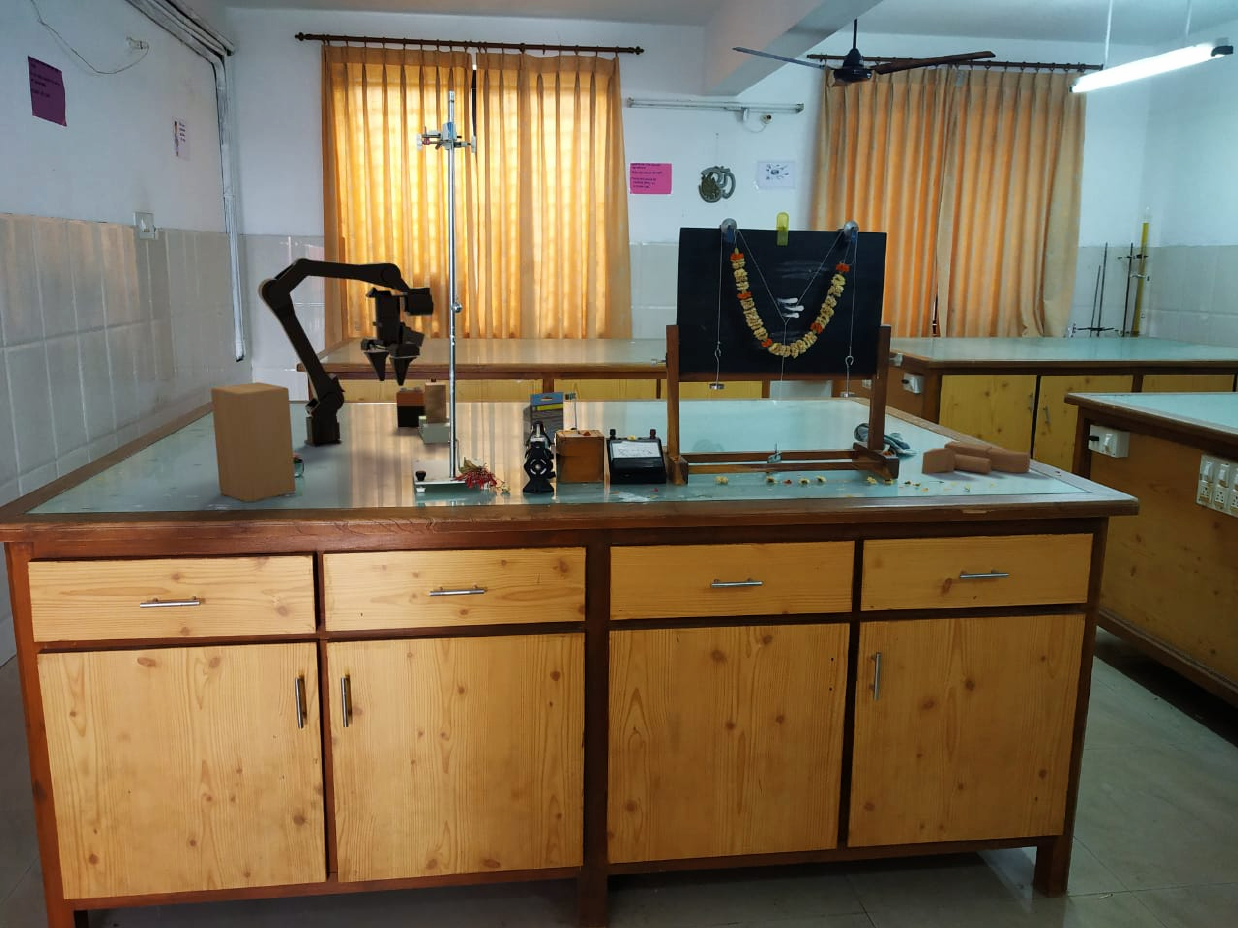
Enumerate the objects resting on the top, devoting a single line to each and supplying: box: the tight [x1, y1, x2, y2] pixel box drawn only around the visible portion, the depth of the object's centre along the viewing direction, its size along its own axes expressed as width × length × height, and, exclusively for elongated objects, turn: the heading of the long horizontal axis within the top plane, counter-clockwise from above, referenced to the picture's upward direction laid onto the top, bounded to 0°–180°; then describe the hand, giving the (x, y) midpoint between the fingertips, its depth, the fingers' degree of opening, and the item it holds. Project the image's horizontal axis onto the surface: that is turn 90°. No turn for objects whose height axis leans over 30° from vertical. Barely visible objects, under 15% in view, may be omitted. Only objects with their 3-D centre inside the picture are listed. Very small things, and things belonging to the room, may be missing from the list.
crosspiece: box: [418, 414, 451, 445], centre depth 228 cm, size 14×7×4 cm, turn 17°
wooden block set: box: [921, 440, 1032, 475], centre depth 199 cm, size 17×6×18 cm
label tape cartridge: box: [522, 391, 565, 445], centre depth 221 cm, size 9×4×12 cm, turn 123°
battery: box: [395, 386, 426, 428], centre depth 240 cm, size 4×7×10 cm, turn 94°
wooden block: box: [210, 381, 296, 503], centre depth 175 cm, size 10×10×20 cm
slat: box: [424, 381, 448, 424], centre depth 227 cm, size 4×4×12 cm
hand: (391, 383), depth 225 cm, fingers open, 9 cm apart
